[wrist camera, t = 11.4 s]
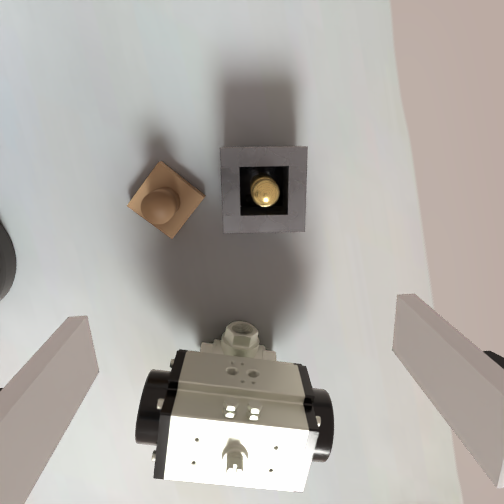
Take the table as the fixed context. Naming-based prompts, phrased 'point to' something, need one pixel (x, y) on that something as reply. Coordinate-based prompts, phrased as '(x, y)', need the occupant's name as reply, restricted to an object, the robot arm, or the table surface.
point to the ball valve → (235, 416)
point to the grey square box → (259, 217)
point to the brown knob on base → (166, 199)
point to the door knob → (261, 186)
